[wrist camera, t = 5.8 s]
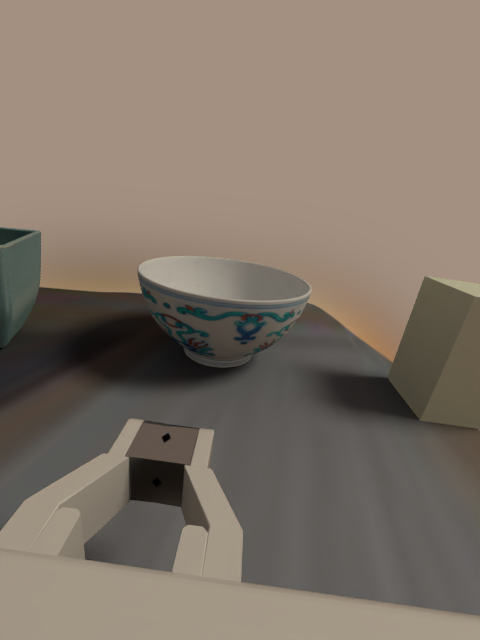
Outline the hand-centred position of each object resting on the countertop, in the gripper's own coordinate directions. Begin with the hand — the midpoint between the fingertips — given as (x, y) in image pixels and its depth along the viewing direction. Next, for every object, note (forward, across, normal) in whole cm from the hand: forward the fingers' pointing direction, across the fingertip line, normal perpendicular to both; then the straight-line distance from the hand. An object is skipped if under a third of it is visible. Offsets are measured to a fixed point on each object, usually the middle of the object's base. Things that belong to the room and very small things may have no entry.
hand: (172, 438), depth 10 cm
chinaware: (+18, 0, +6) cm, 19 cm away
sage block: (+14, -20, +6) cm, 25 cm away
